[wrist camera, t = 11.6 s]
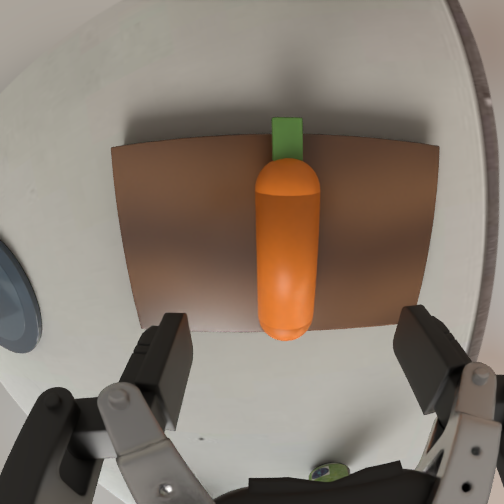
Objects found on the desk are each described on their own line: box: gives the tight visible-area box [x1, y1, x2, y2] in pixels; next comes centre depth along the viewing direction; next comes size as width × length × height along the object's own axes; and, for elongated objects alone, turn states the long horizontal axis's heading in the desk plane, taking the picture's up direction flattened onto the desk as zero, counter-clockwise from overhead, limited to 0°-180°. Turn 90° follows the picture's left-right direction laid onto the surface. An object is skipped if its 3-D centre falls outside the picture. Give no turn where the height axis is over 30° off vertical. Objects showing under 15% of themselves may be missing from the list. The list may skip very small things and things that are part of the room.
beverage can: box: [309, 463, 350, 482], centre depth 28 cm, size 6×7×12 cm
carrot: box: [255, 117, 320, 341], centre depth 17 cm, size 14×4×4 cm, turn 2°
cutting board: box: [111, 134, 439, 332], centre depth 20 cm, size 14×22×2 cm, turn 92°
